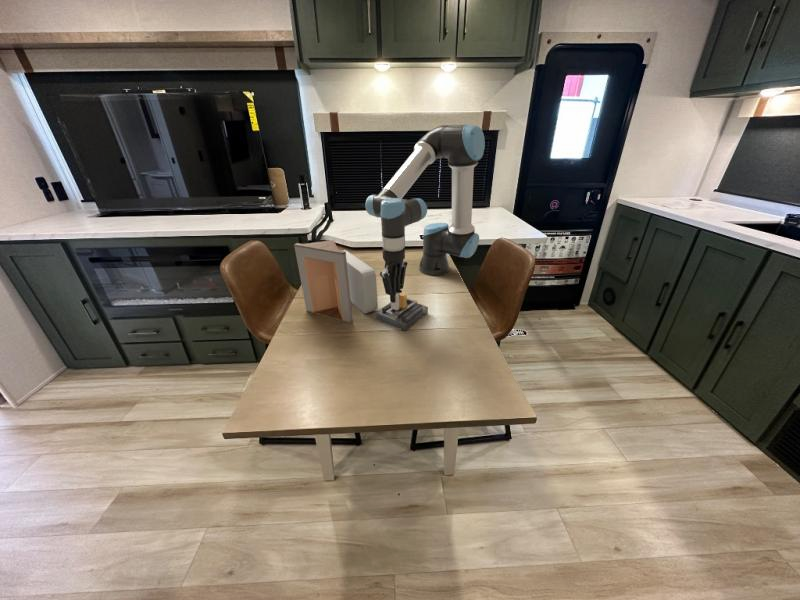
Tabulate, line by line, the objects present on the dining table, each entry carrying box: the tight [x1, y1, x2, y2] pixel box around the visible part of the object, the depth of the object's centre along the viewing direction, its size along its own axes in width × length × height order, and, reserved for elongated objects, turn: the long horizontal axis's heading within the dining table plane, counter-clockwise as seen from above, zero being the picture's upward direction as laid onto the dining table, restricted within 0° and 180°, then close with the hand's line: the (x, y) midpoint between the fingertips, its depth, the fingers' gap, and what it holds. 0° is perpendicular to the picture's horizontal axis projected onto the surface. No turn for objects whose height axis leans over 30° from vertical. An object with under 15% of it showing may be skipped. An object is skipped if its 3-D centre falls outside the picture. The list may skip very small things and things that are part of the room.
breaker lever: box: [398, 292, 408, 311], centre depth 118 cm, size 3×3×6 cm
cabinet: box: [294, 239, 354, 324], centre depth 118 cm, size 21×10×28 cm, turn 65°
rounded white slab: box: [342, 249, 378, 314], centre depth 129 cm, size 29×8×18 cm, turn 34°
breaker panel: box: [374, 297, 429, 332], centre depth 120 cm, size 15×14×4 cm
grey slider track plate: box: [381, 302, 423, 321], centre depth 119 cm, size 11×12×1 cm
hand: (395, 308), depth 115 cm, fingers closed
